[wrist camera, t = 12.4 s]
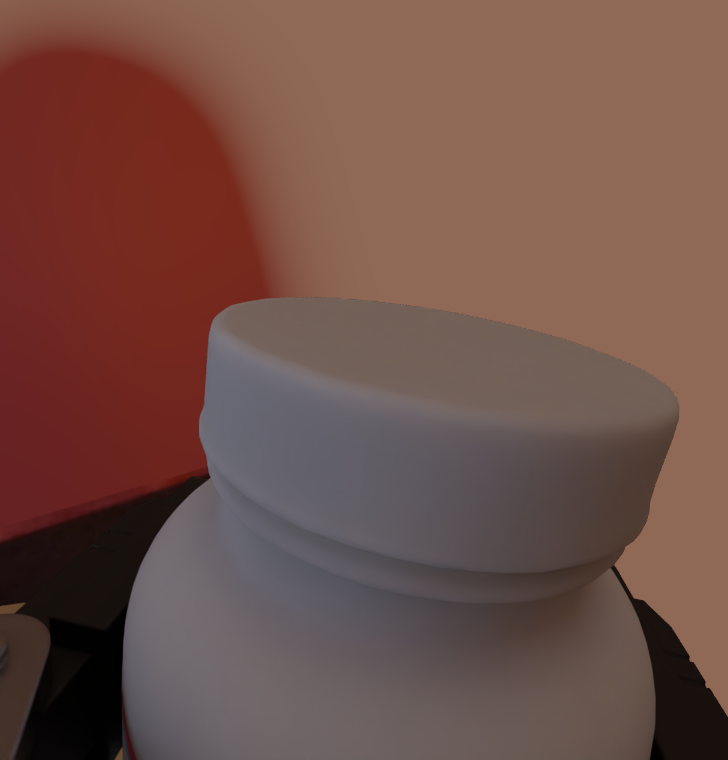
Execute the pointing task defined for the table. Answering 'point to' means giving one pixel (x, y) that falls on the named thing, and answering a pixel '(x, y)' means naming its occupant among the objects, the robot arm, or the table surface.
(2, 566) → the table surface
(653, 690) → the pill bottle
